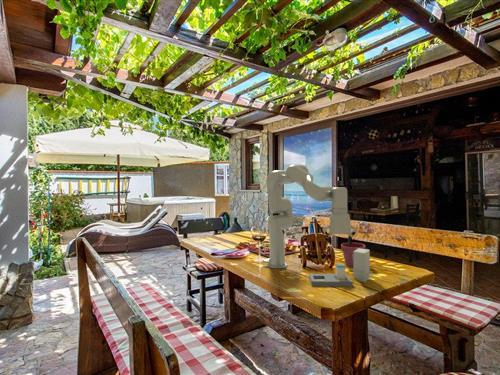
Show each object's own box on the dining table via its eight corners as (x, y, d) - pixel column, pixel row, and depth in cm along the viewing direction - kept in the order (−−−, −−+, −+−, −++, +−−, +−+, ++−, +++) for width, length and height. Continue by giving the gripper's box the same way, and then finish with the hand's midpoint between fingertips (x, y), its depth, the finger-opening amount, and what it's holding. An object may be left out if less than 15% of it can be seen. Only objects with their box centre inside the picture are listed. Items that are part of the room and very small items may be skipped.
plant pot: (348, 269, 176) (348, 248, 176) (337, 263, 190) (337, 243, 189) (370, 267, 179) (370, 246, 178) (357, 261, 192) (357, 241, 192)
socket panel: (311, 287, 148) (311, 280, 148) (309, 279, 160) (309, 273, 160) (352, 287, 146) (352, 281, 146) (347, 279, 158) (347, 273, 158)
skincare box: (358, 276, 164) (358, 247, 163) (370, 278, 160) (370, 249, 159) (352, 280, 157) (352, 250, 157) (365, 282, 153) (365, 252, 153)
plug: (337, 283, 151) (337, 265, 151) (335, 280, 155) (335, 263, 155) (345, 283, 150) (345, 265, 150) (343, 280, 154) (343, 263, 154)
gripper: (323, 212, 149) (324, 246, 149) (359, 212, 147) (359, 246, 148) (321, 210, 156) (321, 242, 157) (355, 210, 155) (355, 243, 155)
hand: (340, 244), depth 152 cm, fingers open, 9 cm apart
